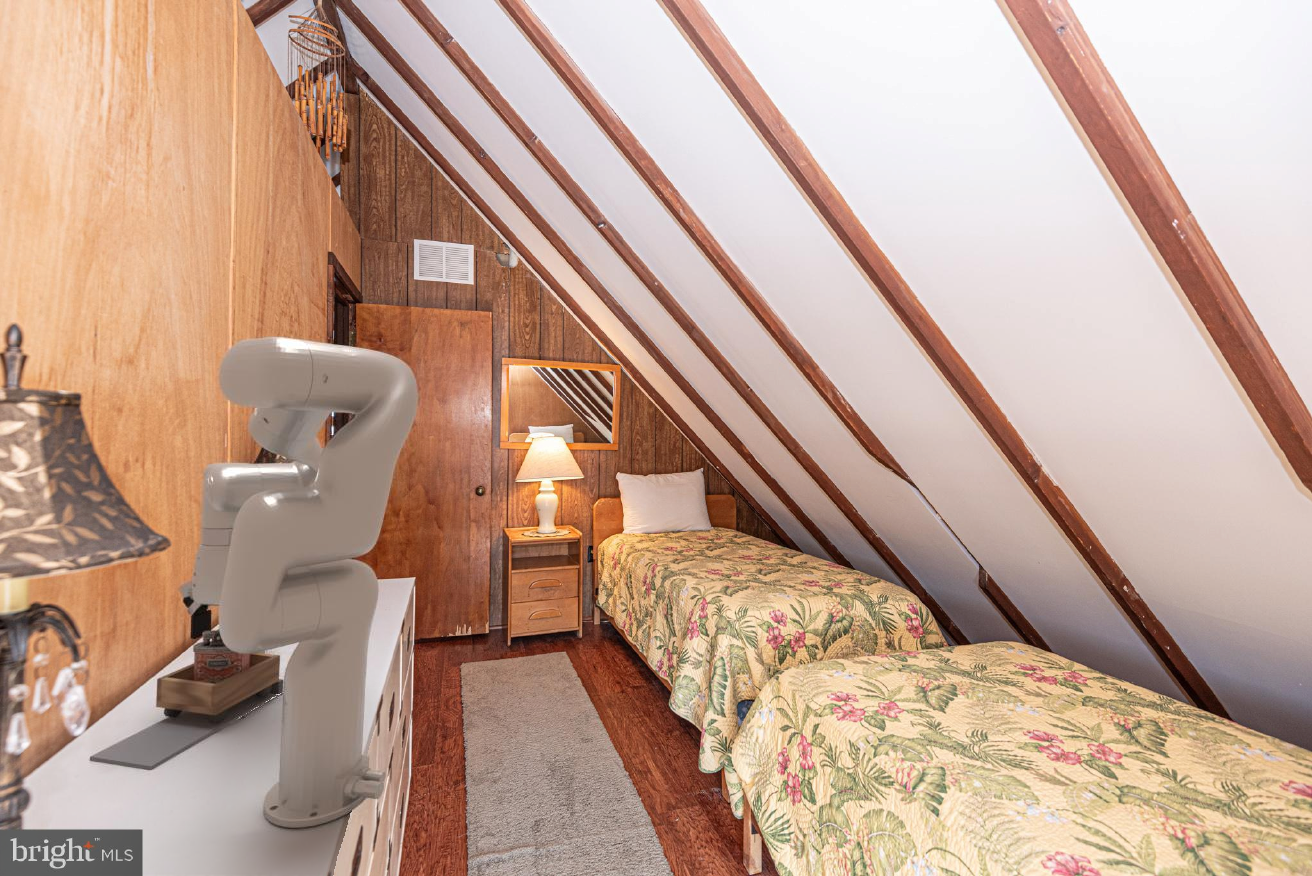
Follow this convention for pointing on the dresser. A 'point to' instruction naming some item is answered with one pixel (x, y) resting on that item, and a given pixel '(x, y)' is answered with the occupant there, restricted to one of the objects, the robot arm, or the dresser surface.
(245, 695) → the cart
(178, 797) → the dresser surface
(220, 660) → the lighter
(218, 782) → the dresser surface
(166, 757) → the track
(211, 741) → the dresser surface
